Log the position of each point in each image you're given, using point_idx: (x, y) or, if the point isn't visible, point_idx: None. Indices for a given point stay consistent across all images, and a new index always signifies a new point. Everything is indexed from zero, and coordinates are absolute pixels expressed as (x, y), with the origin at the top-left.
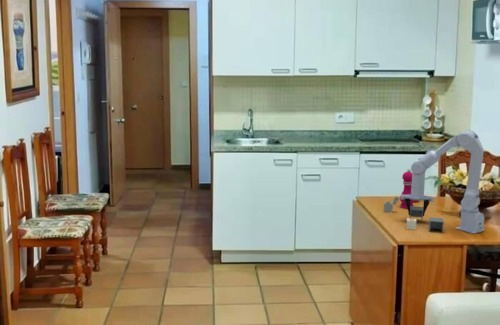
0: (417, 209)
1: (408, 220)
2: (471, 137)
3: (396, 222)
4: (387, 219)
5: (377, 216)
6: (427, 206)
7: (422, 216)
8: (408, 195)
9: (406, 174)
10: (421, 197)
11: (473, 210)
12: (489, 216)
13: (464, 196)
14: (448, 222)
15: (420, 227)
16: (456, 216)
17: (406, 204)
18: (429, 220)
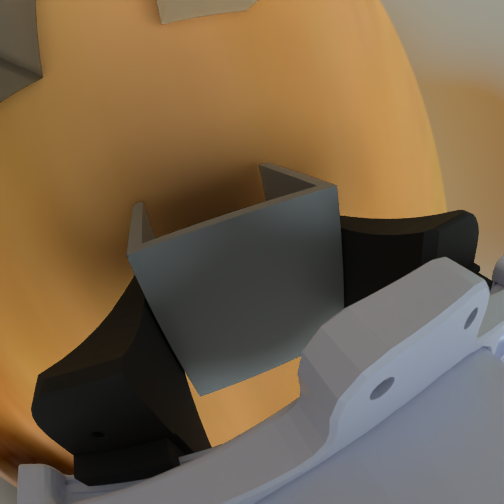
0: (227, 223)
1: None
2: None
3: (347, 108)
4: (403, 165)
5: (440, 205)
6: (75, 349)
7: (135, 215)
8: (501, 358)
9: None
10: (261, 493)
11: None
12: (11, 477)
13: None
14: (10, 353)
15: (117, 47)
16: (71, 455)
17: (424, 216)
18: (3, 11)
